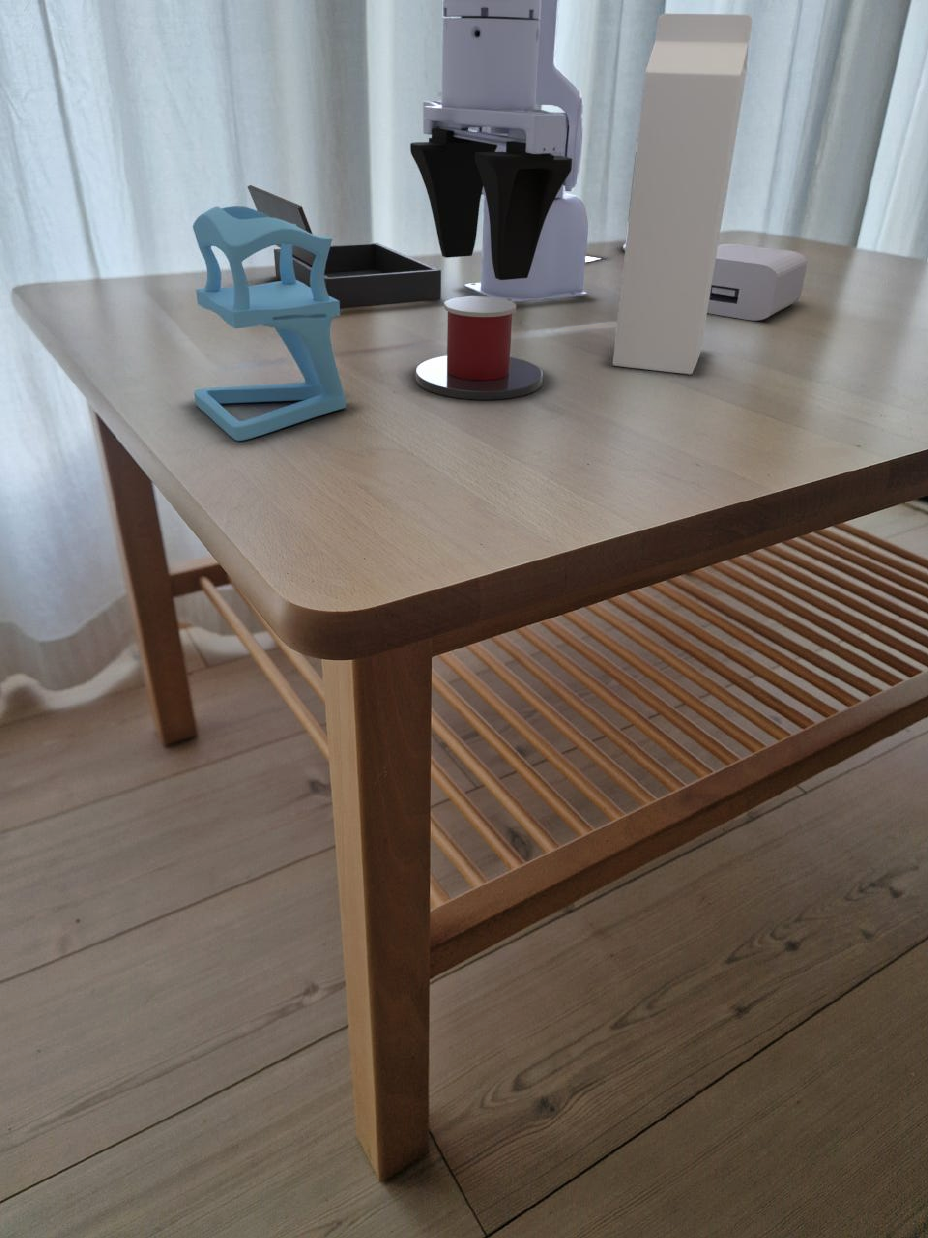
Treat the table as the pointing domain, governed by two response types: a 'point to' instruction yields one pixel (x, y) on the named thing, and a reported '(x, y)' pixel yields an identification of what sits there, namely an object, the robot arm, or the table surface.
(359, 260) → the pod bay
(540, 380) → the coaster
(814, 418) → the table surface
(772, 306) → the charger
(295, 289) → the chair
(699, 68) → the milk
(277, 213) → the flap
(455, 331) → the cylinder
